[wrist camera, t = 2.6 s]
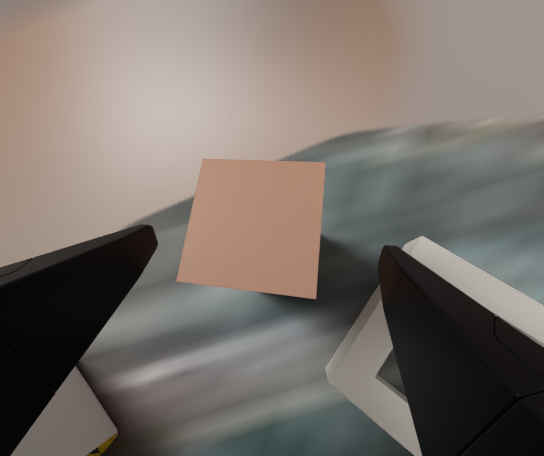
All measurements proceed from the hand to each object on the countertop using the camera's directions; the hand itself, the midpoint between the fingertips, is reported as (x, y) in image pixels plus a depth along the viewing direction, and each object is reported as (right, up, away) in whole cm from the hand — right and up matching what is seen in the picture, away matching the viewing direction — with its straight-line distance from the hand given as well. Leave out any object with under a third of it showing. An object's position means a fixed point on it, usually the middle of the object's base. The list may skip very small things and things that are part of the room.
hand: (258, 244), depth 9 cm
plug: (+1, -2, +8) cm, 9 cm away
